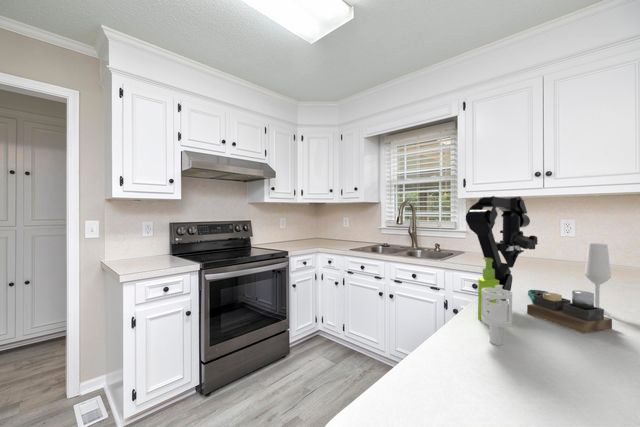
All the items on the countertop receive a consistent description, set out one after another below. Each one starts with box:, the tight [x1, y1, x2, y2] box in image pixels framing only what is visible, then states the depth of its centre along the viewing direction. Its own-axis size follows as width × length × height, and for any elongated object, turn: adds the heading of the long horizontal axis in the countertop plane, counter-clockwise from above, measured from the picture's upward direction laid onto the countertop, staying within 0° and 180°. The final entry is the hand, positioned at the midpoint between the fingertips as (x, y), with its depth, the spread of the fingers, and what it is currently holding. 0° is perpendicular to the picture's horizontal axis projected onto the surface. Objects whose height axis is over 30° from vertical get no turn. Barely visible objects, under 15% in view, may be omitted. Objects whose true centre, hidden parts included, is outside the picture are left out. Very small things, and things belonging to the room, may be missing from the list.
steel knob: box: [571, 289, 595, 308], centre depth 89 cm, size 5×5×4 cm
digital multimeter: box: [527, 289, 550, 304], centre depth 115 cm, size 7×15×3 cm, turn 150°
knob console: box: [526, 295, 613, 334], centre depth 94 cm, size 12×17×6 cm
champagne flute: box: [584, 242, 612, 316], centre depth 102 cm, size 7×7×24 cm
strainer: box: [480, 285, 513, 346], centre depth 78 cm, size 7×7×15 cm
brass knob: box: [543, 291, 563, 301], centre depth 98 cm, size 5×5×4 cm
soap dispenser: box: [477, 256, 499, 322], centre depth 95 cm, size 6×7×20 cm
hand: (510, 267), depth 115 cm, fingers closed
